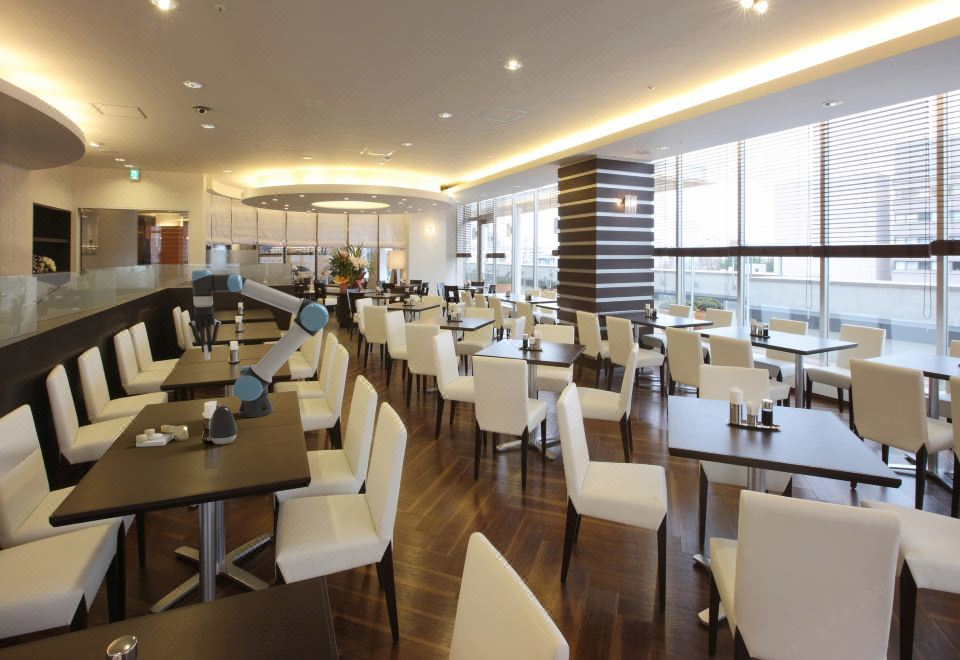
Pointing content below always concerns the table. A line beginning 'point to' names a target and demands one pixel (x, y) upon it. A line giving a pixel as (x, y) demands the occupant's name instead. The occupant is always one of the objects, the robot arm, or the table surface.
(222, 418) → the dark grey egg-shaped device
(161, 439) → the levelling base
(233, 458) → the table surface
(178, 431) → the footscrew knob
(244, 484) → the table surface
